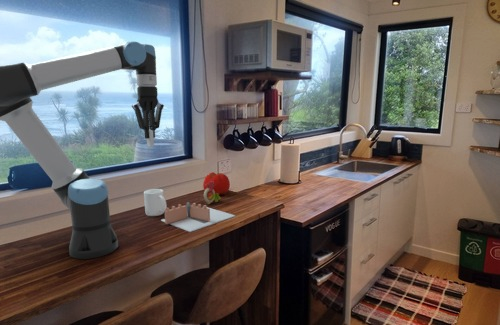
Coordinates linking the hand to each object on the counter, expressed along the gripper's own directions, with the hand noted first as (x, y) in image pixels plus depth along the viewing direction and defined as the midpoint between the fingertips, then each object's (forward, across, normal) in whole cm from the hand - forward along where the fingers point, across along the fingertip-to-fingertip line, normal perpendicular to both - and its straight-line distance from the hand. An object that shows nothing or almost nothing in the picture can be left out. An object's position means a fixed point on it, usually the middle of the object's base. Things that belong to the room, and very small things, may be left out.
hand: (150, 146), depth 140 cm
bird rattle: (+31, +33, +4) cm, 46 cm away
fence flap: (+31, +14, -13) cm, 36 cm away
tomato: (+31, +45, +14) cm, 56 cm away
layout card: (+31, +15, -11) cm, 36 cm away
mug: (+32, +6, +8) cm, 33 cm away
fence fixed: (+31, +7, -7) cm, 33 cm away
